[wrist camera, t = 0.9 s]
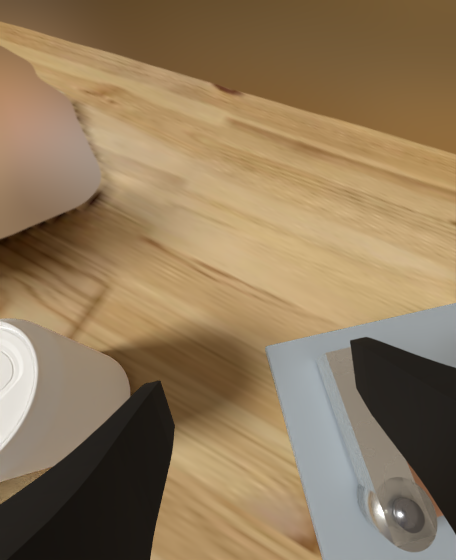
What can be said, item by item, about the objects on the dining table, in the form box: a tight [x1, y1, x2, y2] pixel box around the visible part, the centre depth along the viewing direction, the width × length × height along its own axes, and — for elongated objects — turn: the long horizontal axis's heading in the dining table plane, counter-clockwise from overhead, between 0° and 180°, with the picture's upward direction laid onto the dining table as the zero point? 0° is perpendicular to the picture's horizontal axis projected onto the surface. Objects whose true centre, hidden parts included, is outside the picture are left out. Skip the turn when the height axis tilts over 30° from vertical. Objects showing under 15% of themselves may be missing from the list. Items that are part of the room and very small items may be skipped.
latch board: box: [265, 303, 456, 560], centre depth 20 cm, size 18×18×4 cm
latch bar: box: [316, 347, 437, 552], centre depth 20 cm, size 12×4×3 cm, turn 12°
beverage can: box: [0, 319, 130, 482], centre depth 18 cm, size 8×8×12 cm
